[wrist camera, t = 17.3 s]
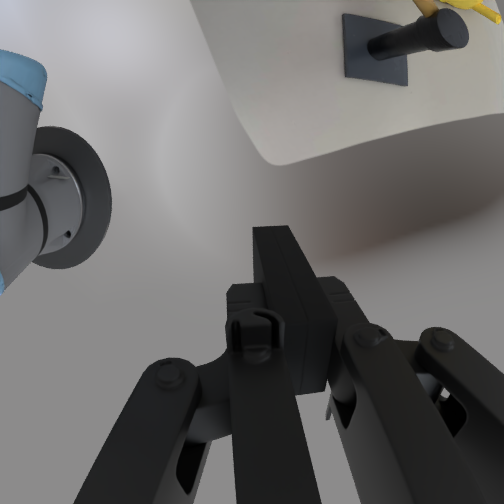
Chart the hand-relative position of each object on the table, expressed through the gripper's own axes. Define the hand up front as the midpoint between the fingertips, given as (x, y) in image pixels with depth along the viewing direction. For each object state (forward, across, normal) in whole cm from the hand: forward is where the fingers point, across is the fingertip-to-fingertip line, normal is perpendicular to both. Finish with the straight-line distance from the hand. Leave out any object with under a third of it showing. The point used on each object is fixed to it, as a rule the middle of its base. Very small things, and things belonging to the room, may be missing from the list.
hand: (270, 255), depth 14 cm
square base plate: (+30, -20, -17) cm, 40 cm away
